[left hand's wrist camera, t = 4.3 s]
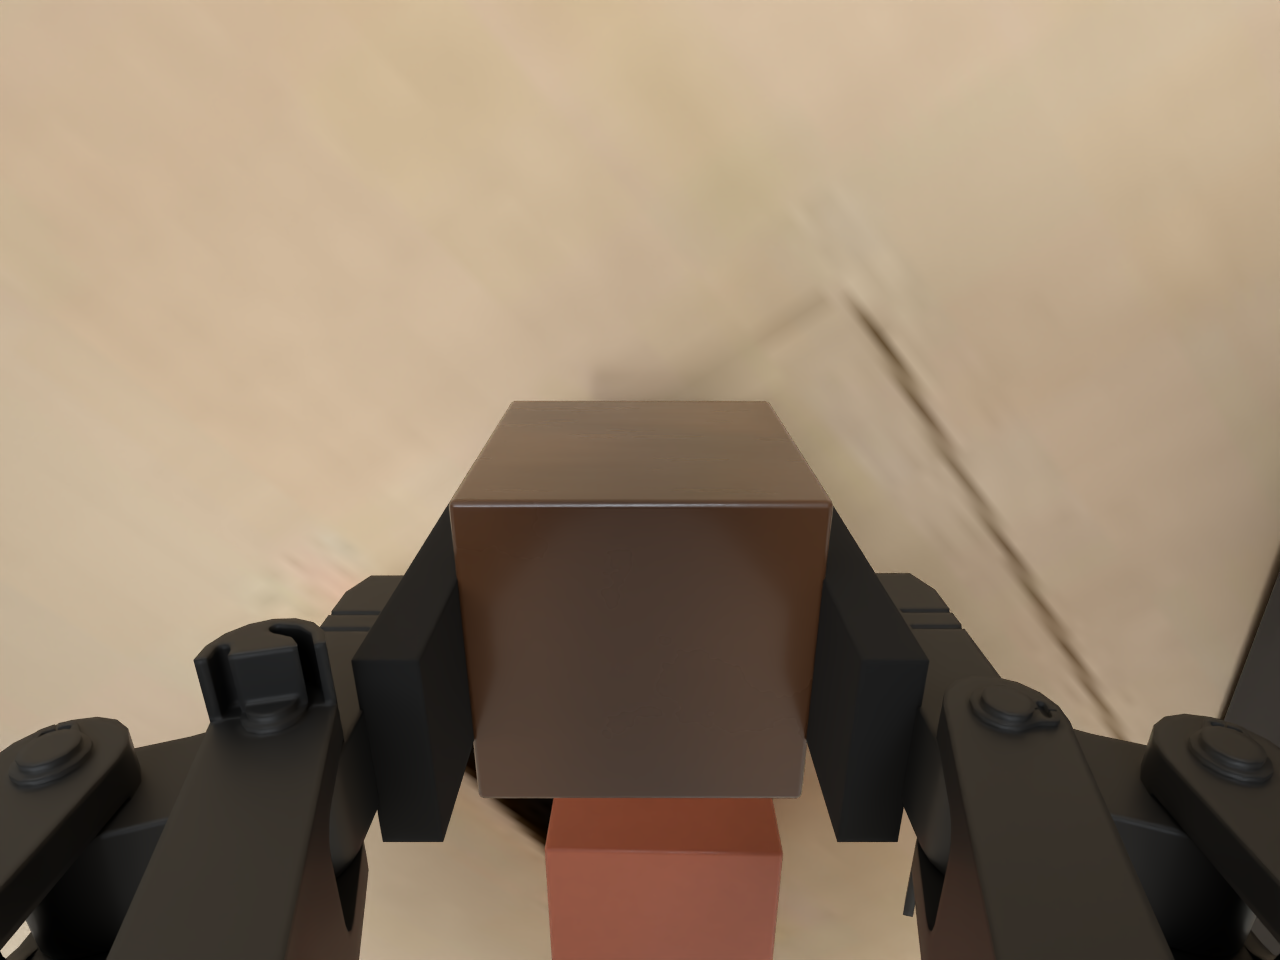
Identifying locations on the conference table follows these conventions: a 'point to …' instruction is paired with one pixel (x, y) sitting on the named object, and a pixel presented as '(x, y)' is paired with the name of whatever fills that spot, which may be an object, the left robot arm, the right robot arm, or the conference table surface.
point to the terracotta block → (663, 878)
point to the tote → (1261, 701)
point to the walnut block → (640, 600)
